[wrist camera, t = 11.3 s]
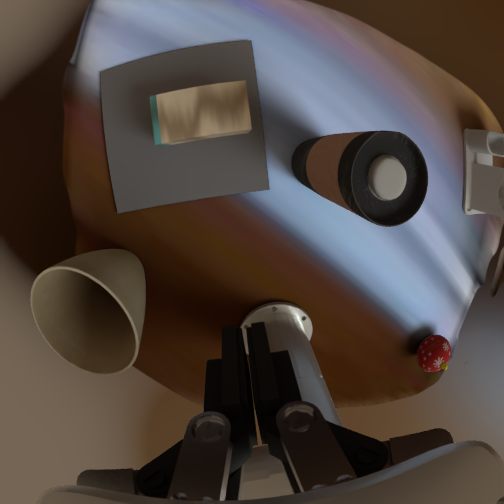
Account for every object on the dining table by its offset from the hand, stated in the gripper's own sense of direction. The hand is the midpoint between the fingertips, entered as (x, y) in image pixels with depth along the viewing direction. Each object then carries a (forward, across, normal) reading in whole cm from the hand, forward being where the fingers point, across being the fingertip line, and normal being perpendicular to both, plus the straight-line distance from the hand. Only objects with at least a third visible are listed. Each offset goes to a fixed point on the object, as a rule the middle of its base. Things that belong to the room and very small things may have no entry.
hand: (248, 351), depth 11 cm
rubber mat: (+29, +6, -13) cm, 32 cm away
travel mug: (+29, -12, -5) cm, 32 cm away
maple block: (+26, +8, -13) cm, 30 cm away
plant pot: (+29, +19, +7) cm, 36 cm away
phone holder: (+29, -48, -4) cm, 57 cm away
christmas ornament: (+29, -39, +35) cm, 60 cm away
